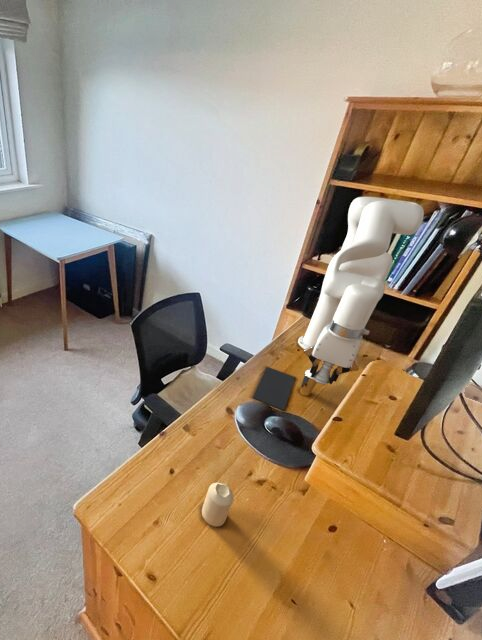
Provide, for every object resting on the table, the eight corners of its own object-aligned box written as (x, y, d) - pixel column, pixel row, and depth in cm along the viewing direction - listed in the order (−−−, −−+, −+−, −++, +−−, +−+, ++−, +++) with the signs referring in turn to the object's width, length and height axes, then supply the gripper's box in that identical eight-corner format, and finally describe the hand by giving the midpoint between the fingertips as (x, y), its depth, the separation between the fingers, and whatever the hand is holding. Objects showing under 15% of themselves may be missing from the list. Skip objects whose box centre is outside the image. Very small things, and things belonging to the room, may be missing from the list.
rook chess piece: (310, 380, 105) (320, 359, 100) (315, 373, 107) (324, 352, 103) (326, 387, 102) (336, 366, 98) (330, 380, 105) (341, 359, 101)
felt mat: (266, 367, 130) (266, 366, 130) (294, 378, 125) (295, 377, 125) (252, 397, 116) (252, 397, 116) (283, 411, 111) (284, 410, 111)
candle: (212, 531, 78) (221, 506, 73) (196, 509, 82) (204, 484, 77) (230, 520, 81) (240, 495, 75) (214, 499, 85) (222, 474, 79)
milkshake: (307, 387, 121) (318, 364, 116) (314, 397, 117) (324, 375, 112) (294, 385, 122) (304, 363, 116) (300, 396, 117) (310, 373, 112)
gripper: (382, 332, 93) (354, 382, 103) (313, 312, 101) (294, 361, 111) (382, 345, 88) (352, 397, 98) (309, 324, 96) (289, 374, 106)
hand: (321, 377), depth 104 cm, fingers closed on rook chess piece, 4 cm apart
